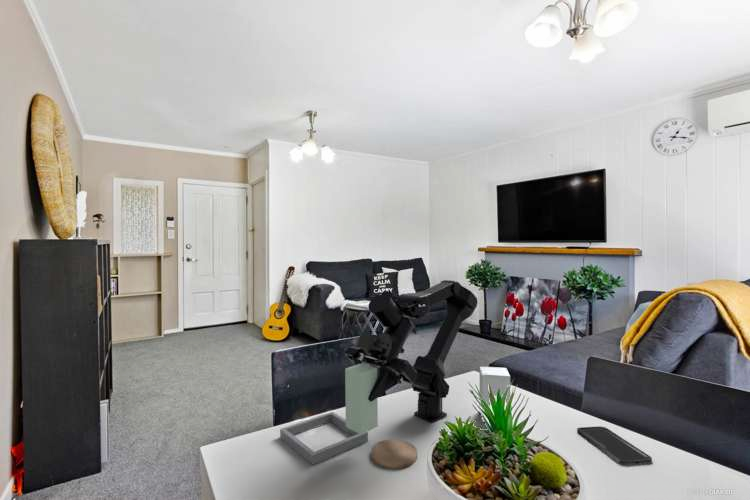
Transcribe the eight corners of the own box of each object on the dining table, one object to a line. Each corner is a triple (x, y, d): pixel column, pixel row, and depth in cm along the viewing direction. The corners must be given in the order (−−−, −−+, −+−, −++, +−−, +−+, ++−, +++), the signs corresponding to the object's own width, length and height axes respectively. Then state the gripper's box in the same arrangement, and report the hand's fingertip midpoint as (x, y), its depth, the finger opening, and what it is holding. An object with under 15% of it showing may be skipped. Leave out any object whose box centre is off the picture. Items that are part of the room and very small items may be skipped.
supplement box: (511, 425, 97) (511, 376, 97) (481, 422, 98) (481, 374, 98) (506, 413, 104) (506, 367, 104) (479, 410, 106) (479, 365, 106)
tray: (332, 419, 101) (332, 411, 101) (367, 441, 89) (367, 432, 89) (280, 437, 91) (280, 429, 91) (312, 464, 79) (312, 455, 79)
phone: (603, 426, 95) (654, 459, 80) (603, 430, 95) (654, 464, 80) (574, 427, 94) (620, 461, 79) (574, 432, 94) (620, 467, 79)
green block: (362, 419, 87) (361, 363, 87) (377, 426, 84) (377, 368, 84) (345, 426, 84) (345, 368, 84) (361, 434, 80) (360, 373, 80)
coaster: (395, 439, 90) (395, 434, 90) (426, 456, 82) (426, 452, 82) (362, 454, 84) (362, 449, 84) (393, 474, 76) (393, 469, 76)
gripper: (349, 313, 94) (314, 368, 86) (408, 323, 81) (373, 389, 73) (372, 339, 99) (340, 392, 92) (430, 352, 86) (399, 416, 79)
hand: (361, 397), depth 84 cm, fingers closed on green block, 5 cm apart
